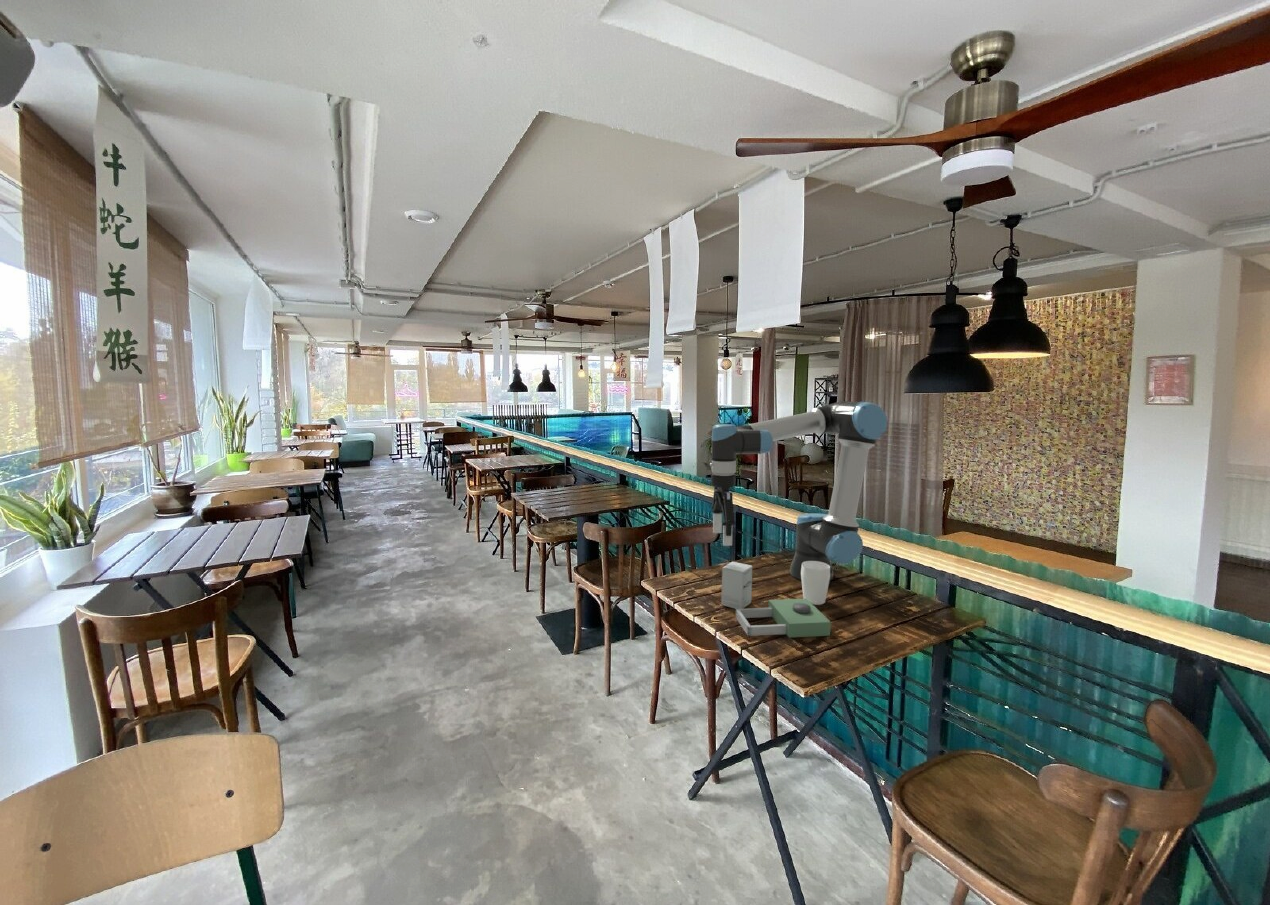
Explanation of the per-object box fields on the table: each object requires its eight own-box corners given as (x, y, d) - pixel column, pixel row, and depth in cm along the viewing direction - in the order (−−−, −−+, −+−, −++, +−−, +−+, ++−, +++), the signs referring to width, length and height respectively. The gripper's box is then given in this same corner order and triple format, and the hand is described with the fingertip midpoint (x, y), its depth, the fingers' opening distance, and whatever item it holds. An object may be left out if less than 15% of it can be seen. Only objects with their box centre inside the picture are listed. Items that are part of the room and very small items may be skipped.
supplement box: (741, 611, 158) (743, 572, 157) (720, 605, 163) (721, 566, 161) (752, 603, 164) (753, 565, 162) (731, 597, 168) (732, 560, 167)
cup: (831, 607, 160) (833, 571, 159) (801, 605, 162) (802, 569, 161) (826, 596, 169) (828, 561, 168) (798, 594, 171) (799, 559, 170)
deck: (805, 610, 158) (806, 594, 158) (830, 635, 142) (831, 617, 142) (733, 613, 156) (733, 597, 155) (750, 639, 140) (750, 621, 140)
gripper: (703, 467, 172) (702, 528, 175) (721, 481, 148) (719, 551, 150) (725, 467, 173) (724, 527, 176) (746, 480, 148) (744, 550, 151)
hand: (722, 538), depth 163 cm, fingers open, 13 cm apart
